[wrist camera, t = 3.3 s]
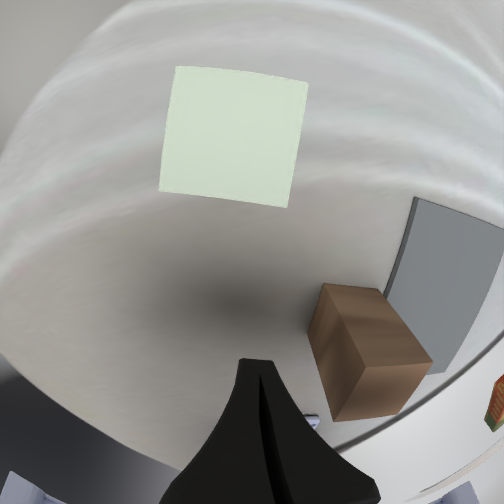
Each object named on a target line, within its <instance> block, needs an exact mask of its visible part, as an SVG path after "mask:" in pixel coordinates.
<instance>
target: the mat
mask: <svg viewBox="0 0 504 504" xmlns="http://www.w3.org/2000/svg"><path fill="white" fill-rule="evenodd" d="M503 252H504V230H503V229H501V228H499V227H496V226H494V225H491V224H489V223H486V222H484V221H481V220H479V219H476V218H474V217H471V216H468V215H466V214H463V213H460V212H457V211H455V210H452V209H449V208H446V207H443V206H440V205H437V204H434V203H431V202H428V201H425V200H422V199H419V198H415V197H414V201H413V205H412V209H411V213H410V217H409V220H408V224H407V227H406V231H405V234H404V238H403V241H402V244H401V247H400V250H399V253H398V257H397V260H396V263H395V265H394V268H393V271H392V274H391V277H390V280H389V282H388V285H387V288H386V290H385V293H384V297H385V298H386V300H387V301H388V302H389V303H390V305H391V306H392V307H393V308H394V310H395V311H396V312H397V313H398V315H399V316H400V317H401V319H402V320H403V321H404V322H405V324H406V325H407V326H408V328H409V329H410V330H411V332H412V333H413V334H414V336H415V337H416V338H417V340H418V341H419V342H420V344H421V345H422V346H423V348H424V349H425V351H426V352H427V353H428V355H429V356H430V358H431V359H432V360H433V364H432V366H431V367H430V369H429V370H428V372H427V373H426V375H429V374H436V373H442V372H445V371H446V369H447V368H448V366H449V364H450V363H451V361H452V360H453V358H454V356H455V355H456V353H457V352H458V350H459V348H460V346H461V345H462V343H463V341H464V339H465V338H466V336H467V334H468V332H469V330H470V328H471V327H472V325H473V323H474V321H475V319H476V317H477V315H478V313H479V311H480V309H481V307H482V304H483V302H484V300H485V298H486V296H487V293H488V291H489V289H490V286H491V284H492V282H493V279H494V277H495V274H496V271H497V269H498V266H499V263H500V261H501V258H502V255H503Z"/></svg>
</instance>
